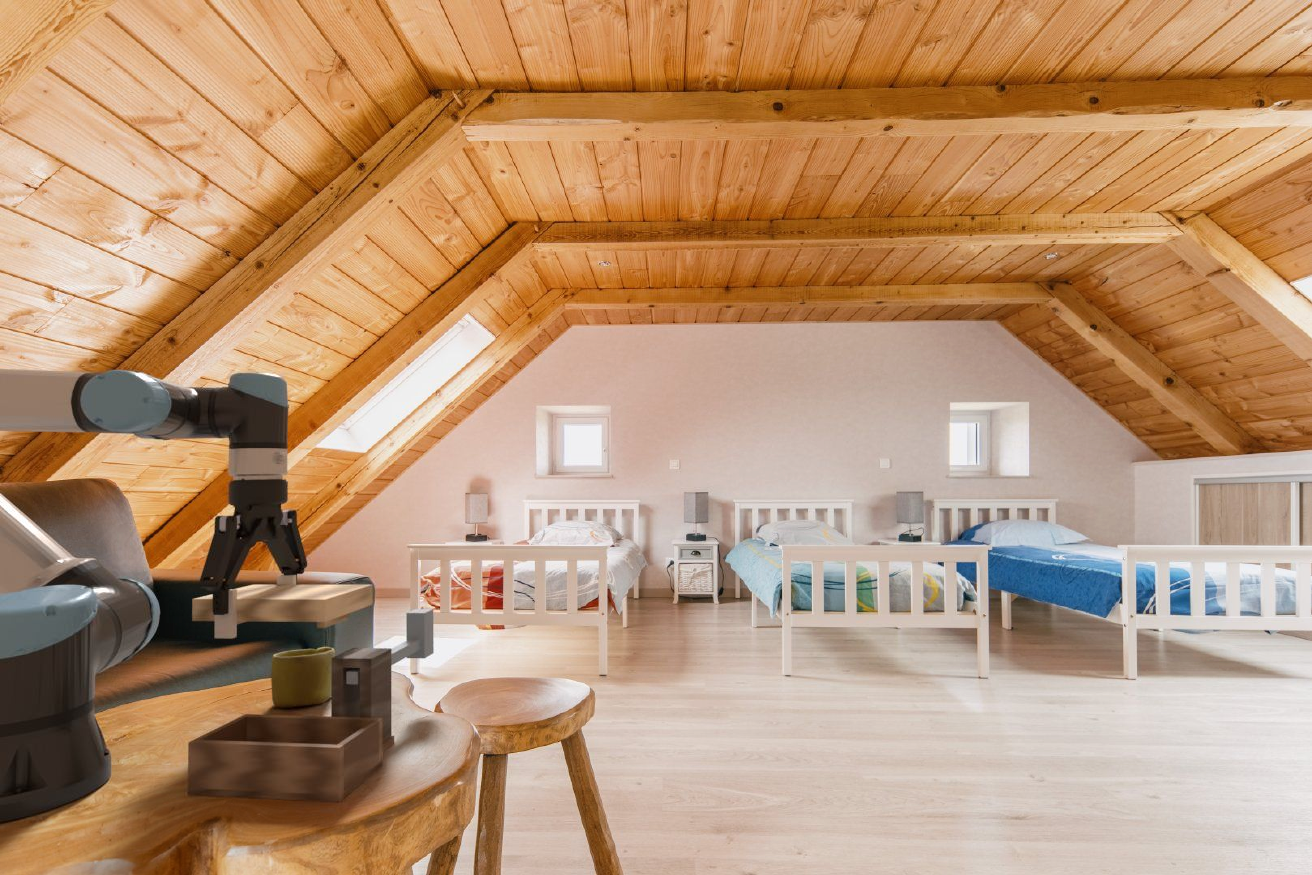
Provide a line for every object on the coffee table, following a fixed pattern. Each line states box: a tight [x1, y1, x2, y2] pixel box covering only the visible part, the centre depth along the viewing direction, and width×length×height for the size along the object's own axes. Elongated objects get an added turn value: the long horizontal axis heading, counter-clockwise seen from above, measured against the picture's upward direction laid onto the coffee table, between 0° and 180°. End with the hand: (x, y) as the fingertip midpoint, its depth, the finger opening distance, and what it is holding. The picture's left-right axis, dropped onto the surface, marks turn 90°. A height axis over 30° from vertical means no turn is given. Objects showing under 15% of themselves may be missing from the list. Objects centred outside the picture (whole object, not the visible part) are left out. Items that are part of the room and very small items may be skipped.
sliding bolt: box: [346, 608, 434, 684], centre depth 97 cm, size 3×20×7 cm, turn 172°
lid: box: [191, 584, 374, 629], centre depth 96 cm, size 20×12×4 cm, turn 83°
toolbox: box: [187, 647, 395, 803], centre depth 84 cm, size 19×16×13 cm
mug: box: [270, 646, 336, 709], centre depth 110 cm, size 12×10×10 cm
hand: (257, 627), depth 97 cm, fingers closed on lid, 11 cm apart
